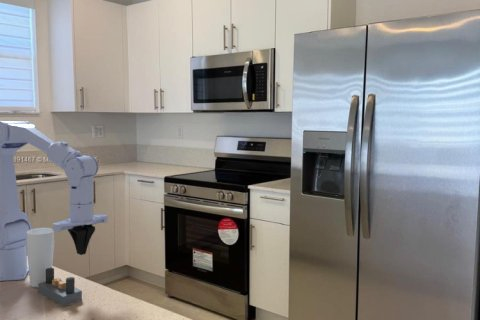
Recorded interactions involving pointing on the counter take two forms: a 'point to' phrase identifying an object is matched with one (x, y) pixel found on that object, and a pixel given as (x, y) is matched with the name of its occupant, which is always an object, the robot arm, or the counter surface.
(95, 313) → the counter surface
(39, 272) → the drinking glass
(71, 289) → the cord plug front
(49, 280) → the cord plug back
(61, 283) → the tan wooden dumbbell piece
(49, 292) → the grey base plate
